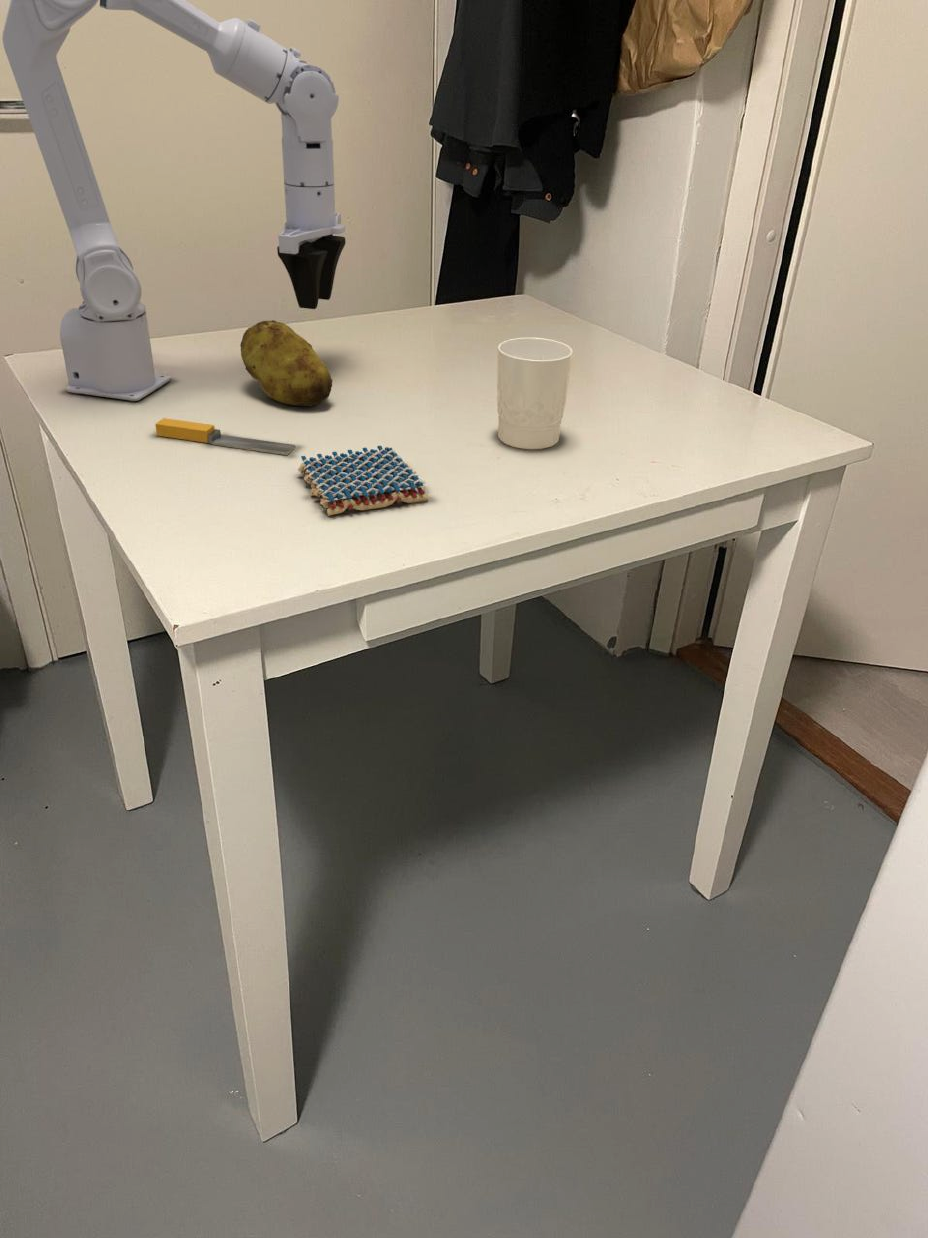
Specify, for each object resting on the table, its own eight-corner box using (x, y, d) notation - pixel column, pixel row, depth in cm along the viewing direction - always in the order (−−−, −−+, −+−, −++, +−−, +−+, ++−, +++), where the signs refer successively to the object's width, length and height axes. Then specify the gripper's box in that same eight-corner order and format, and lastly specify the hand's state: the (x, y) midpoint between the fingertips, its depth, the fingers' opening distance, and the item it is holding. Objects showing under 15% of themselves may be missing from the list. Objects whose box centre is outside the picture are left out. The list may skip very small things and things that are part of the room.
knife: (155, 436, 103) (153, 424, 102) (166, 429, 105) (164, 416, 104) (287, 455, 100) (286, 442, 99) (295, 447, 102) (294, 435, 101)
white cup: (571, 431, 108) (580, 343, 103) (553, 457, 102) (562, 364, 97) (504, 420, 110) (510, 333, 105) (483, 445, 104) (488, 354, 99)
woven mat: (326, 520, 88) (325, 500, 87) (295, 473, 96) (294, 455, 95) (431, 503, 92) (432, 483, 91) (393, 460, 100) (393, 441, 99)
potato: (270, 419, 108) (264, 348, 104) (236, 383, 117) (230, 317, 113) (339, 409, 111) (336, 340, 107) (301, 374, 121) (297, 310, 116)
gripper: (318, 195, 104) (323, 322, 111) (363, 176, 116) (365, 291, 123) (257, 190, 105) (267, 315, 113) (308, 171, 117) (314, 286, 124)
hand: (314, 303), depth 118 cm, fingers open, 4 cm apart
